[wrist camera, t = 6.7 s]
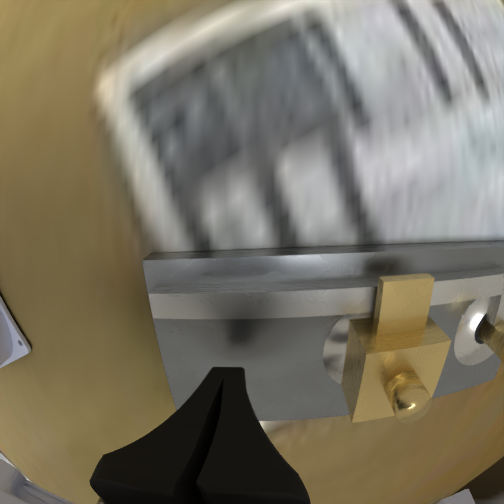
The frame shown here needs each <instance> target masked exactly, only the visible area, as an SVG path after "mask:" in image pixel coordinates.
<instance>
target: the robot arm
mask: <svg viewBox="0 0 504 504" xmlns="http://www.w3.org/2000/svg"><path fill="white" fill-rule="evenodd" d="M30 351H31V348H30V345H29V344H28V342H27V341H26V339H25V338H24V336H23V335H22V333H21V331H20V330H19V328H18V326H17V325H16V323H15V321H14V320H13V318H12V316H11V315H10V313H9V311H8V309H7V307H6V306H5V304H4V302H3V300H2V298H1V296H0V368H1V367H3V366H5V365H7V364H9V363H11V362H13V361H15V360H17V359H19V358H21V357H23V356H25V355H27V354H28V353H30ZM90 485H91V487H92V488H93V490H94V491H95V492H96V493H97V494H98V495H99V496H100V498H101V499H102V500H103V501H104V502H105V503H106V504H310V498H309V495H308V492H307V490H306V488H305V486H304V484H303V482H302V480H301V478H300V477H299V475H298V473H297V472H296V471H295V470H294V469H293V468H292V467H291V466H290V465H289V464H288V463H287V462H286V461H285V459H284V458H283V457H282V456H281V455H280V454H279V452H278V451H277V450H276V448H275V447H274V445H273V444H272V443H271V441H270V440H269V438H268V437H267V435H266V433H265V432H264V430H263V428H262V427H261V425H260V423H259V421H258V419H257V417H256V415H255V412H254V410H253V408H252V405H251V402H250V400H249V396H248V393H247V390H246V379H245V369H244V368H243V367H212V368H211V370H210V371H209V372H208V374H207V375H206V377H205V378H204V380H203V381H202V382H201V384H200V385H199V386H198V387H197V389H196V390H195V391H194V392H193V394H192V395H191V396H190V397H189V398H188V399H187V400H186V402H185V403H184V404H183V405H182V406H181V407H180V408H179V409H178V410H177V411H176V412H175V413H174V414H173V415H172V416H170V417H169V418H168V419H167V420H166V421H165V422H163V423H162V424H161V425H159V426H158V427H157V428H155V429H154V430H153V431H151V432H150V433H148V434H147V435H145V436H144V437H142V438H140V439H138V440H136V441H135V442H133V443H131V444H129V445H127V446H125V447H123V448H120V449H118V450H115V451H113V452H110V453H108V454H105V455H103V456H102V458H101V459H100V461H99V462H98V464H97V466H96V468H95V470H94V473H93V475H92V477H91V479H90ZM0 504H75V503H73V502H71V501H68V500H66V499H64V498H62V497H59V496H57V495H55V494H53V493H51V492H49V491H47V490H45V489H43V488H41V487H39V486H37V485H35V484H34V483H32V482H30V481H28V480H26V478H25V477H24V475H23V474H22V473H21V472H20V471H18V470H17V469H16V468H15V467H13V466H11V465H10V464H8V463H7V462H5V461H3V460H2V459H0ZM437 504H475V503H474V500H473V498H472V496H471V494H470V491H469V489H465V490H463V491H461V492H459V493H457V494H454V495H452V496H450V497H447V498H445V499H443V500H441V501H440V502H438V503H437Z"/></svg>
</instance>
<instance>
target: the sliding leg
mask: <svg viewBox="0 0 504 504" xmlns="http://www.w3.org/2000/svg"><path fill="white" fill-rule="evenodd" d="M434 279H435V278H434V277H433V276H431V275H430V274H429V273H422V274H409V275H394V276H379V278H378V288H377V297H376V306H375V314H374V317H370V318H359V319H350V320H349V330H348V339H347V347H346V355H345V362H344V369H343V376H342V382H341V386H342V390H343V393H344V396H345V400H346V403H347V407H348V410H349V414H350V418H351V421H352V423H354V422H361V421H367V420H373V419H379V418H384V417H389V416H394V415H395V416H396V419H397V421H398V422H400V423H411V422H414V421H416V420H418V419H419V418H421V417H422V416H424V415H425V414H426V413H427V412H428V411H429V409H430V408H431V406H432V402H433V400H432V396H433V394H434V391H435V388H436V386H437V383H438V380H439V378H440V375H441V372H442V369H443V366H444V363H445V360H446V357H447V354H448V350H449V347H450V344H451V339H450V338H449V337H448V336H447V335H446V334H445V333H444V332H443V331H442V329H441V328H440V327H439V326H438V325H437V324H436V323H435V322H434V321H433V320H432V319H431V318H430V317H429V316H428V313H429V308H430V302H431V297H432V291H433V285H434Z"/></svg>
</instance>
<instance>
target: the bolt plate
mask: <svg viewBox="0 0 504 504" xmlns="http://www.w3.org/2000/svg"><path fill="white" fill-rule="evenodd" d="M142 263H143V269H144V275H145V281H146V287H147V292H148V297H149V303H150V308H151V313H152V317H153V322H154V327H155V331H156V336H157V340H158V344H159V348H160V353H161V357H162V361H163V364H164V368H165V372H166V376H167V380H168V383H169V387H170V390H171V394H172V397H173V401H174V404H175V407H176V410H178V409H179V408H180V407H181V406H182V405H183V404H184V403H185V402H186V400H187V399H188V398H189V397H190V396H191V395H192V394H193V392H194V391H195V390H196V389H197V387H198V386H199V385H200V384H201V382H202V381H203V380H204V378H205V377H206V375H207V374H208V372H209V371H210V370H211V368H212V367H243V368H244V369H245V379H246V390H247V393H248V396H249V400H250V402H251V405H252V408H253V410H254V412H255V415H256V417H257V419H258V421H275V420H298V419H313V418H324V417H334V416H343V415H350V414H349V410H348V407H347V403H346V400H345V396H344V393H343V390H342V386H341V382H342V376H343V369H344V362H345V355H346V347H347V339H348V330H349V320H350V319H359V318H370V317H374V314H375V306H376V297H377V288H378V278H379V276H394V275H409V274H422V273H429V274H430V275H431V276H433V277H434V278H435V279H434V285H433V291H432V297H431V302H430V308H429V313H428V316H429V317H430V318H431V319H432V320H433V321H434V322H435V323H436V324H437V325H438V326H439V327H440V328H441V329H442V331H443V332H444V333H445V334H446V335H447V336H448V337H449V338H450V339H451V344H450V347H449V350H448V354H447V357H446V360H445V363H444V366H443V369H442V372H441V375H440V378H439V380H438V383H437V386H436V388H435V391H434V394H433V396H432V399H433V398H436V397H440V396H444V395H447V394H451V393H454V392H457V391H461V390H464V389H467V388H470V387H473V386H476V385H479V384H482V383H484V382H487V381H490V380H493V379H494V377H495V375H496V373H497V370H498V368H499V366H500V363H501V361H502V362H503V363H504V241H479V242H447V243H417V244H387V245H358V246H330V247H302V248H275V249H248V250H221V251H195V252H169V253H151V254H150V255H149V256H147V257H146V258H145V259H143V260H142Z"/></svg>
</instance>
